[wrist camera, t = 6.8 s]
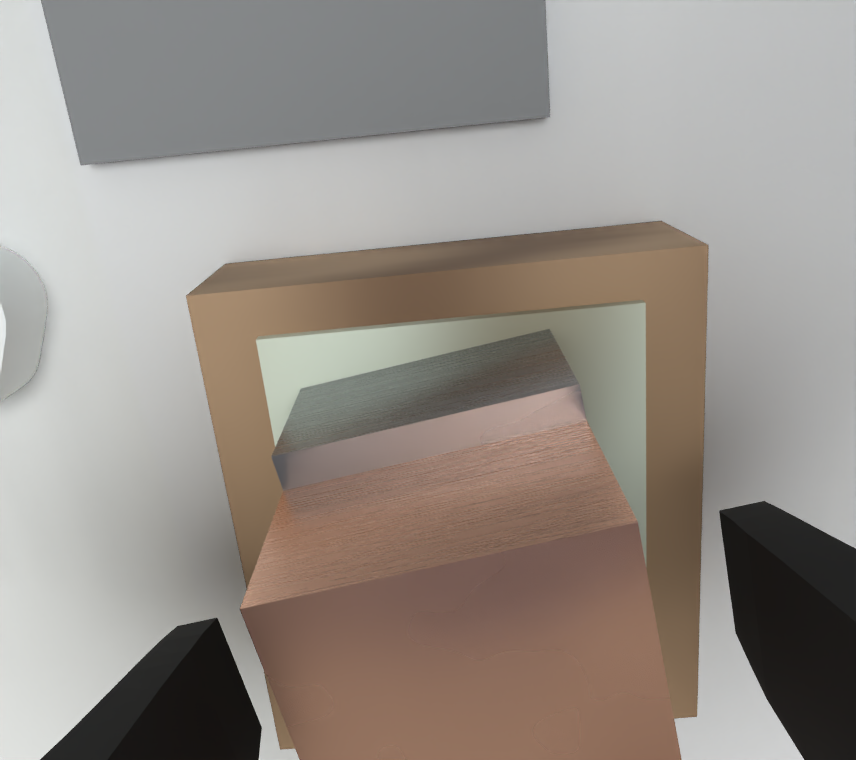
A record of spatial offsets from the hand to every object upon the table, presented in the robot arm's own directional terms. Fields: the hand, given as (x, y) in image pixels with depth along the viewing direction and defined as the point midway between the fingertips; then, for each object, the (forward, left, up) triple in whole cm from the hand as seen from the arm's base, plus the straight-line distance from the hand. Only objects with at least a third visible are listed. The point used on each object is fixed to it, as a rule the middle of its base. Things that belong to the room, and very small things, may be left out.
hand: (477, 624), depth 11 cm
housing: (0, 0, -2) cm, 2 cm away
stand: (0, 0, -5) cm, 5 cm away
